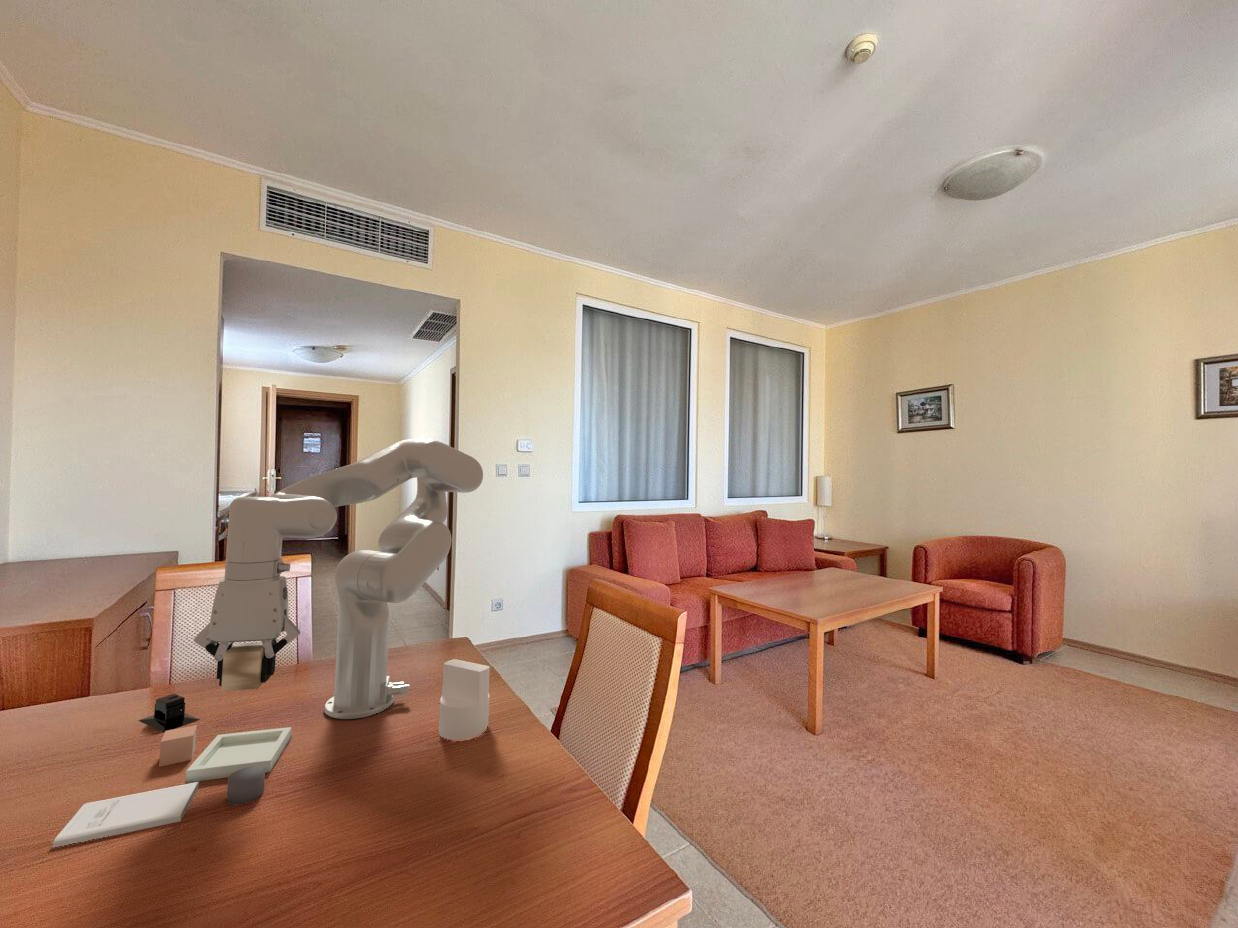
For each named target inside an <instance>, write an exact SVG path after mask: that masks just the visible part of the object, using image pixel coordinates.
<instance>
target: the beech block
mask: <svg viewBox="0 0 1238 928" xmlns="http://www.w3.org/2000/svg"><path fill="white" fill-rule="evenodd" d="M264 655H265V651H264V648H263V644H262V641H256V642H237V643H234V644H233V646H232V647H231V648H230V649H229V650H228V651H226V652H225V653H224V656H223V671H222V685H221V686H220V687H221V689H220V692H235V691H244V690H257V689H260V687H261V686H262V685H263V684H264V683H261V666H262V659H263V658H264Z"/></svg>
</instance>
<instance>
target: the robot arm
mask: <svg viewBox="0 0 1238 928" xmlns="http://www.w3.org/2000/svg"><path fill="white" fill-rule="evenodd" d="M483 471H484V470H483V467H482V465H481V463H480V462H479V461H478V460H477V459H476V458H474V457H473V456H471V455H469V454H467V453H465V452H463V451H461V450H458V449H456V448H455V447H452V446H450V445H448V444H445V443H443V442H442V441H439V440H434V439H402V440H399V441H396V442H394V443H392V444H389V445H388V446H386V447H384V448H382V449H380V450H377V451H376V452H374V453H372V454H370V455H368V456H366V457H364V458H362V459H359V460H357V461H355V462H353V463H351V464H348V465H344V466H341V467H338V468H335V469H332V470H328V471H327V472H322V473H319V474H316V475H313V476H310V477H307V478H304V479H302V480H300V481H298V482H296V483H293V484H291V485H289V486H287V487H285V488H282V489H281V490H279V491H277V492H275V493H273V494H271V495H269V496H242V497H236V498H234V499H233V500H232V501H231V502H230V504H229V509H228V510H229V511H228V523H227V524H228V527H227V539H226V553H225V568H224V578H222V579H220V580H219V583H218V585H217V588H216V592H215V595H214V600H213V604H212V608H211V613H210V620H209V623H208V624H207V625H206V626H205V627H204V628H202V630H201V631H200V632H198V633H197V635H196V636H195V637H194V638H193V642H194V643H195V644H196V645H198V646H200V647H201V648H204V649H205V651H206V652H208V654H210V655H211V656H212V657H214V658H213V660H214V661H215V662H217V665H216V679H217V680H219V681H218V686H219V687H221V685H222V671H223V656H224V653H225V652H226V651H228V650H229V649H230V648H231V647H233V646H234V645H235V643H247V642H262V644H263V648H264V651H265V655H264V658H263V659H262V666H261V683H263V684H266V683H267V682H268V680H269V679H270V678H271V677H272V676H273V675H274V674H275V671H276V659H277V653H279V652H280V651H281V650H282V649H283V648H284V647H285V646H287V645H288V644H289V643H291V642H293V641H294V640H295V639H297V638H298V637H299V636H300V634H301V631H300V629H299V628H298V627H297V626H296V625H295V623H293V621H292V620H291V619H290V618H289V617H290V616H289V614H290V613H289V609H290V608H289V590H288V582H287V578H286V576H283V575H281V574H282V573H284V572H290V570H291V563H289V562H288V563H286V562H284V561H283V558H282V549H283V539H284V538H298V539H314V538H318V537H321V536H323V535H325V534H326V535H327V533H328V532H330V531H331V530H332V529H333V528H334V526H335V524H336V523H337V520H338V519H337V518H338V514H337V510H336V508H338V507H342V506H349V505H356V504H362V503H366V502H371V501H374V500H377V499H379V498H381V497H383V496H384V495H385V494H387V493H389V492H391V491H392V490H394V489H396V488H397V487H399V486H400V485H403V484H405V483H406V482H408V481H410V480H412V479H415V478H416V484H417V485H416V486H417V487H416V488H417V490H416V494H415V495H416V496H415V498H414V500H413V501H412V502H411V503H410V505H408V507H406V508H405V509H404V510H403V511H402V512H401V513H400V514H399V515H398V516H397V517H395V519H393V520H392V521H391V522H390V523H388V524H387V526H385V528H384V529H383V530H382V532H381V533H380V535H379V537H378V540H377V541H378V542H377V546H378V549H379V550H380V551H379V550H378V551H377V550H372V549H360V550H355V551H352V552H350V553H349V554H347V555H345V556H344V557H343V558H342V559H341V560H340V561H339V563H338V565H337V567H336V568H335V573H334V574H335V575H334V584H335V591H336V597H337V599H336V600H337V606H338V607H337V610H338V612H337V613H338V618H337V620H338V621H337V634H336V636H337V637H336V652H335V653H336V654H335V656H336V658H335V670H334V672H335V673H334V693H333V696H331V698H329V699H328V700H327V701H326V702H325V703H324V713H325V714H326V715H327V716H329V717H331V718H333V719H339V720H354V719H355V720H356V719H361V718H367V717H370V716H374V715H376V713H377V714H379V713H381V712H383V711H385V710H387V709H388V708H390V706H392V705H393V703H394V699H395V696H404V695H405V696H406V695H407V696H408V695H409V692H410V684H405V681H398V682H393V681H390V675H388V658H389V656H388V655H389V639H390V637H389V636H390V624H391V623H390V622H391V620H390V609H389V605H388V603H389V604H390V603H391V604H399V603H402V602H405V601H407V600H408V599H410V598H411V597H412V596H413V595H415V593H416V592H418V591H419V589H420V588H421V587H422V586H424V584H425V583H426V581H428V580H429V578H430V577H431V576H432V575H433V573H435V571H436V570H438V568H439V567H440V566H441V565H442V563H443V562H444V561H445V560H446V558H447V556H448V554H449V552H450V550H451V546H452V534H451V530H450V529H449V527H448V526H447V525H446V524H445V521H446V520H447V517H448V505H447V497H446V493H447V492H448V493H461V494H464V493H472V492H474V491H476V490H478V488H479V487H480V486H481V484H482V482H483V481H484V480H483V479H484V472H483ZM283 632H286V635H284V637H282V638H281V639H279V640H278V637H280V636H281V633H283ZM386 708H387V709H386ZM384 709H385V710H384ZM382 710H383V711H382ZM373 714H374V715H373Z"/></svg>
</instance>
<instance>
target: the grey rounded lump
mask: <svg viewBox="0 0 1238 928" xmlns="http://www.w3.org/2000/svg"><path fill="white" fill-rule="evenodd" d="M265 777H266V772H265V768H264V767H261V766H251V767H246V768H243V769H240V770H238V771H236V772H234V773H233V774H231V775H230V776H229V777H227V790H226V791H227V793H226V802H227V804H229V805H243V804H246V803H250V802H252V801H254V800H256V799H258V798H259V797H261V796H262V795H263V793H264V792H265V780H266V779H265Z"/></svg>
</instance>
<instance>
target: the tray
mask: <svg viewBox="0 0 1238 928" xmlns="http://www.w3.org/2000/svg"><path fill="white" fill-rule="evenodd" d="M292 728H293V727H292V726H290V727H279V728H270V729H260V730H251V731H250V730H249V731H243V732H242V731H241V732H231V733H223V734H217V735H216V736H215V737H214V739H213V740H212V741H211V742H210V743H209V744H208V746H207V747H206V748H205V749H204V750H203V751H202V752H201V753H200V754H199V755H198V757H197V758H196V759H195V761H193V762H192V763H191V765H190V766H189V767H188V768H187V769H186V771H185V784H189V783H194V782H203V781H210V780H217V779H224V778H229V776H230V775H231V774H233V773H234V772H236V771H238V770H240V769H243V768H246V767H251V766H261V767H264V768H265V773H271V771H272V770H273V768H274V766H275V765H276V763H277V762H278V760H279V758H280V756H281V755H282V753H283V751H284V750H285V748H286V746H287V745H288V743H289V742H290V740H291V738H292V731H293V729H292Z"/></svg>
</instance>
